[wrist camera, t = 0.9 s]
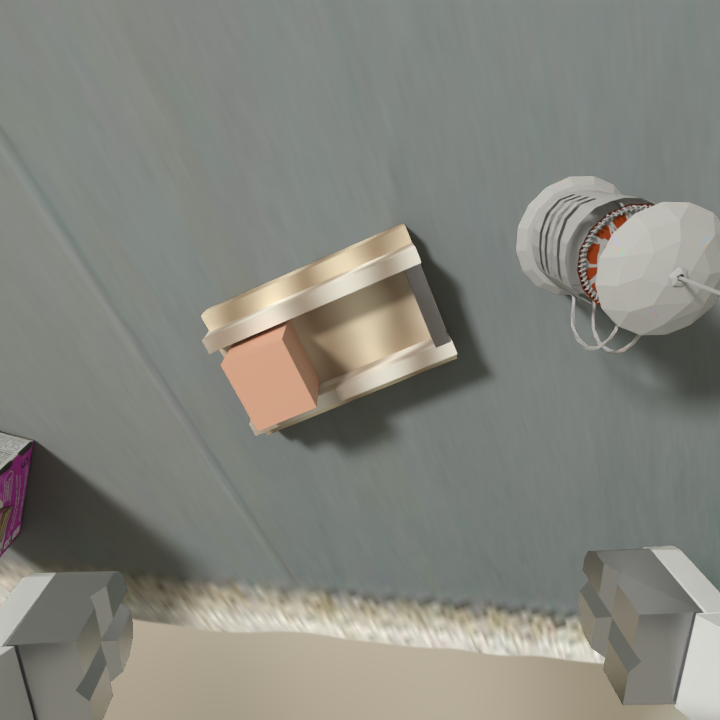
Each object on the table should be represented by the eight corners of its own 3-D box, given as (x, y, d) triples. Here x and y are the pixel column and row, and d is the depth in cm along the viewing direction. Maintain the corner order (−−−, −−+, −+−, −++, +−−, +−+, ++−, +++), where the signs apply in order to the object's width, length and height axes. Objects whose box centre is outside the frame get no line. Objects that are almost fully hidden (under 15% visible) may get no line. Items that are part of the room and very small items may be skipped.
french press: (651, 186, 45) (987, 227, 21) (605, 323, 49) (845, 483, 25) (534, 164, 44) (751, 181, 21) (496, 305, 48) (642, 454, 25)
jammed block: (288, 317, 46) (281, 339, 40) (319, 379, 48) (316, 407, 42) (234, 341, 46) (220, 365, 41) (267, 401, 48) (257, 431, 43)
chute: (402, 223, 45) (409, 230, 41) (453, 350, 49) (463, 369, 45) (206, 309, 47) (193, 324, 43) (269, 424, 51) (263, 449, 47)
